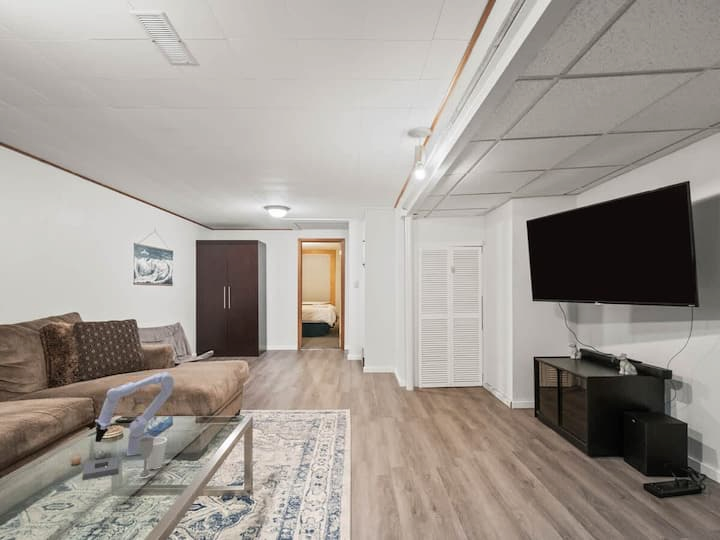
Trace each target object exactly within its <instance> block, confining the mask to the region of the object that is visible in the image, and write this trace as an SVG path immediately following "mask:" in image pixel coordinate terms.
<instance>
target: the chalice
mask: <svg viewBox="0 0 720 540" xmlns="http://www.w3.org/2000/svg"><path fill="white" fill-rule="evenodd" d="M154 438H155V436H153V435H148V436H142V437H140V438H139V439H138V440H139V452H140V454H139V455H140V456H141V458H142V459H144V461H143V465H142V467H143V470H142V471H141V472H140V473H139V476H140V477H146V476H148V475H149V474H150V475H151V473H150V470H149V469H147V468H148V463H147V458H148V457H149V456H150V454H151V452H152V450H153V440H154Z"/></svg>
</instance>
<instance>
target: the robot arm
mask: <svg viewBox="0 0 720 540" xmlns="http://www.w3.org/2000/svg"><path fill="white" fill-rule="evenodd" d="M153 384H155V385H160V388H161V391H160V392H159V393H158V395H157V396H156V397H155V398H154V399H153V400H152V402H151V403H149V405H148V407H147V408H146V409H144V412H143V413H142V414H141V415H139V416H138V417H137V418H136V419H134V420H133V421H131V422H130V424H129V427H128V428H129V431H130V432H129V434H128V441H127V443H128V445H127V449H126V456H127V457H129V456H137V455H141V454H140V452H139V440H138V439H139V438H140V437H142V436H149V434H148V433H145V430H146V428H147V426H148V424H149V422H150V420H151V419H152V418H153V417H154V415H155V414H156V413H157V412H158V411H159V409H160V408H161V407H162V405H164V403H165V402H166V401H167V400H168V399H169V397H170V396H171V395H172V392H173V387H174V384H175V382H174V377H173V376H172V374H171V373H170V372H169V371H166V370H165V371H164V370H163V371H161V372H157V373H156V374H154V375H151V376H148V377H146V378H143V379H141V380H139V381H137V382H132V381H131V382H129V381H127V382H126V383H125V384H123V385H119V386H116V387H112V388H110V389H109V390H108V391H107V392H106V398H105V399H104V402H103V405H102V407H101V409H100V414H99V416H98V419H95V420H94V422H95V423H96V426H95V431H96V434H95V443H100V442H101V441H102V439H103V437H104V436H105V434H106V433H107V432H108V431H109V428H107V427H108V426H109V425H111V422H112V419H113V415H114V412H115V410H116V406H117V404H118V401H119V400H120V398H124V397H126V396H129V395H132V394H133V393H135V392H137V390H139V389H141V388H144V387H147V386H149V385H153Z"/></svg>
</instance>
